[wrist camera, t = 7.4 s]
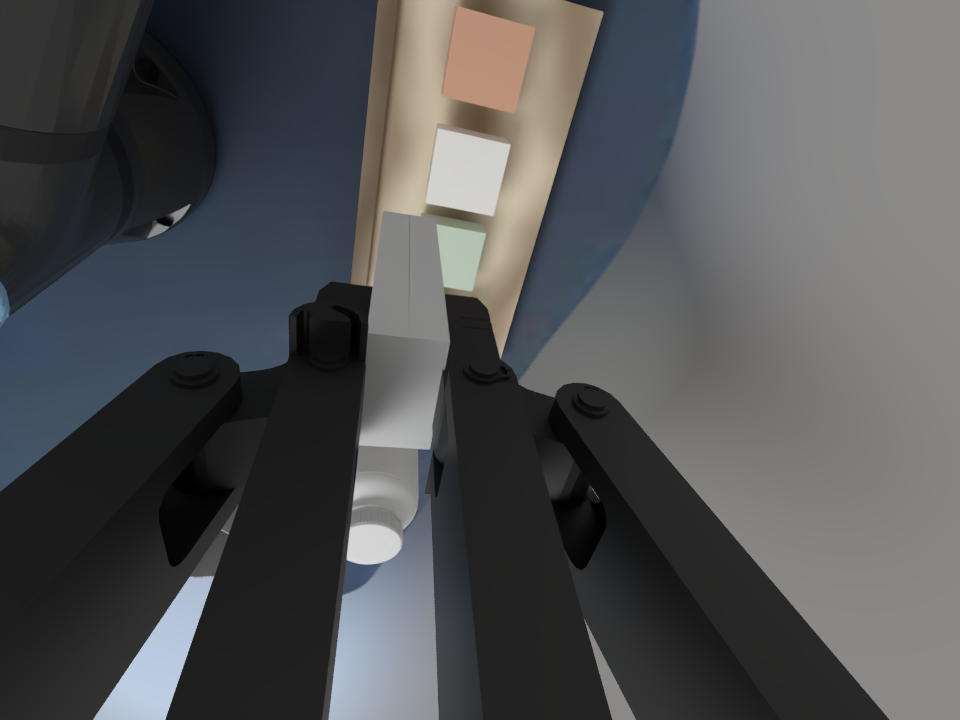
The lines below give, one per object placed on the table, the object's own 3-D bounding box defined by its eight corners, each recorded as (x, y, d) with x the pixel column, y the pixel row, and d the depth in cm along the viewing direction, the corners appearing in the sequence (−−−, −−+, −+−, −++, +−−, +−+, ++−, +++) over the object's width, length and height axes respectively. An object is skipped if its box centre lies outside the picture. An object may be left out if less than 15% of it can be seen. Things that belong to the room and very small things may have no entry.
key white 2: (425, 194, 36) (425, 203, 35) (436, 122, 34) (437, 128, 32) (490, 207, 37) (493, 216, 36) (506, 138, 35) (510, 144, 33)
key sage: (411, 270, 41) (411, 281, 39) (421, 212, 38) (421, 221, 36) (470, 280, 42) (472, 291, 40) (483, 224, 39) (486, 233, 37)
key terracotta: (441, 92, 34) (442, 96, 32) (455, 6, 31) (457, 5, 29) (510, 109, 35) (514, 113, 33) (529, 26, 32) (535, 27, 30)
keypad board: (347, 333, 46) (344, 349, 44) (385, -50, 31) (383, -54, 29) (495, 353, 49) (499, 369, 47) (594, 12, 34) (606, 12, 32)
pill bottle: (430, 434, 54) (433, 558, 42) (361, 457, 55) (344, 585, 43) (399, 379, 50) (392, 500, 37) (325, 405, 51) (294, 531, 38)
